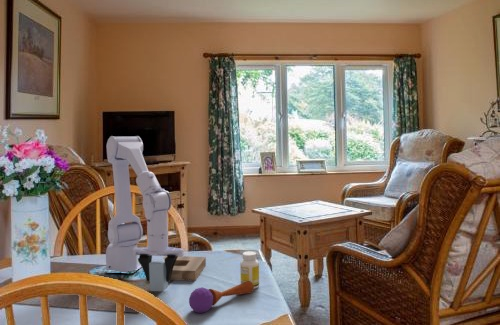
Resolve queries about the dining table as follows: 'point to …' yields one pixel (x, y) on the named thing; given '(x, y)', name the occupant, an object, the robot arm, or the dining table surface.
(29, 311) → the dining table surface
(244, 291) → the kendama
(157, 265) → the peg
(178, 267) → the socket block
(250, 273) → the supplement bottle
